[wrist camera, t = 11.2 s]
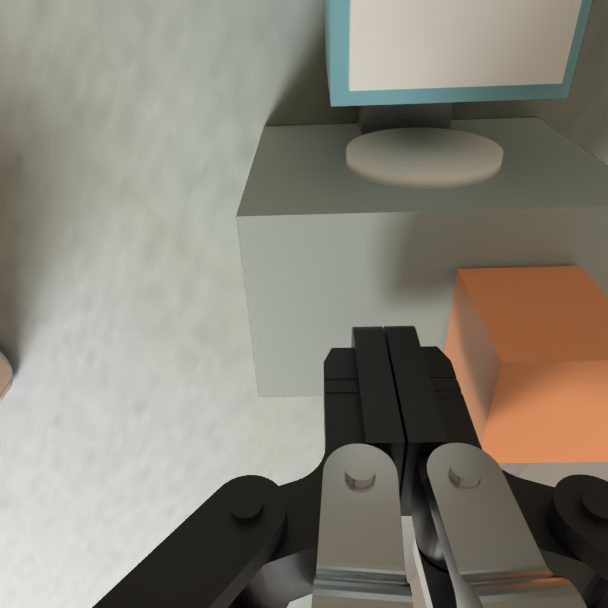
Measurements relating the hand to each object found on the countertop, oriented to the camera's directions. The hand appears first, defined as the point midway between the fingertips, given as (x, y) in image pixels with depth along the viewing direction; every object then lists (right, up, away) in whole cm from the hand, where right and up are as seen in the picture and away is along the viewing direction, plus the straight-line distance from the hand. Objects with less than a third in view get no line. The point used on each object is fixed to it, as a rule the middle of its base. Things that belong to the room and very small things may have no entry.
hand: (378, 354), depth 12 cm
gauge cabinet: (+2, +6, +8) cm, 10 cm away
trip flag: (+4, +1, +1) cm, 4 cm away
